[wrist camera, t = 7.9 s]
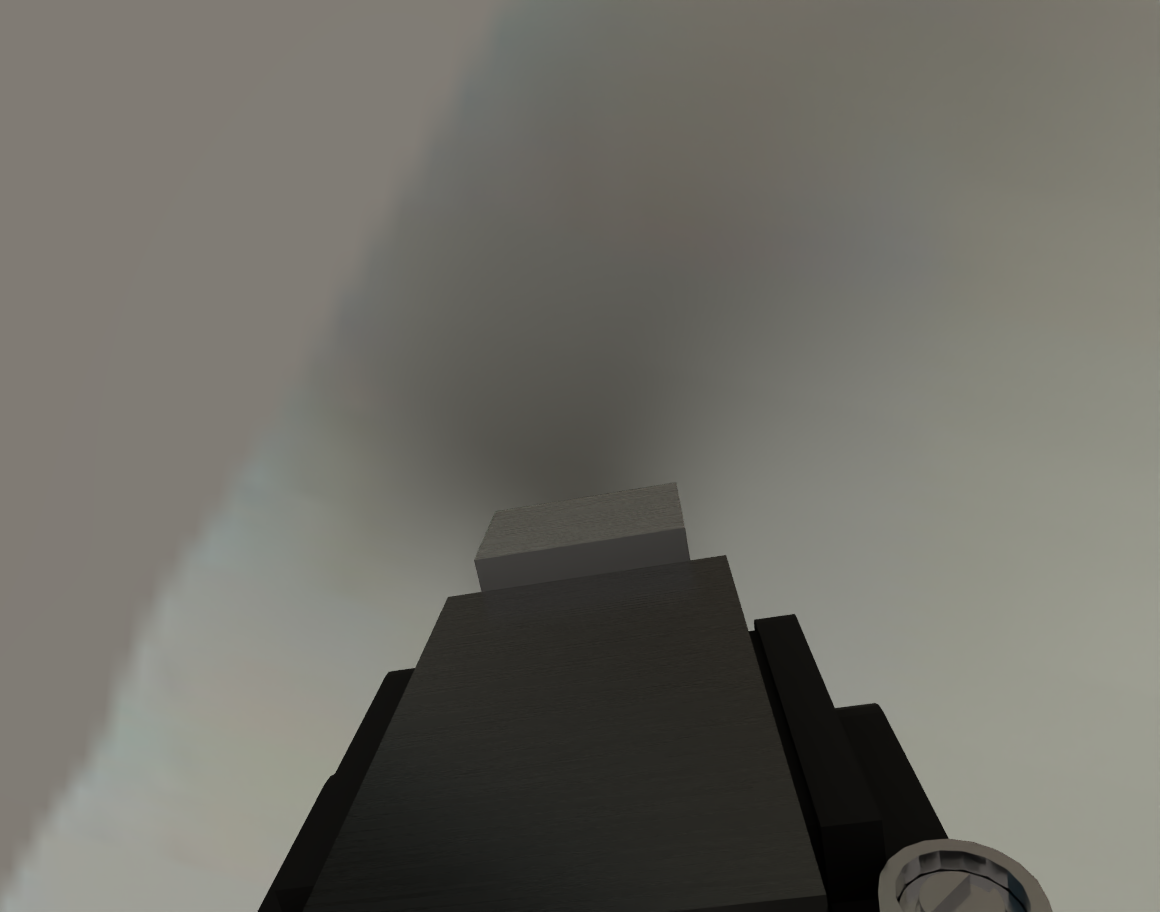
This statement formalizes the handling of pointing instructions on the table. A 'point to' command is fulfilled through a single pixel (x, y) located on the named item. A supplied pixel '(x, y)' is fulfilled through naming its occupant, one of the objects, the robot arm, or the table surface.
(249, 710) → the table surface
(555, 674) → the grey sliding bolt
